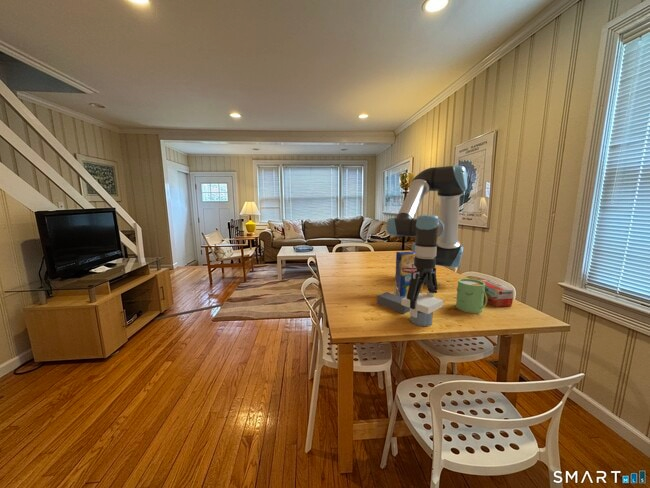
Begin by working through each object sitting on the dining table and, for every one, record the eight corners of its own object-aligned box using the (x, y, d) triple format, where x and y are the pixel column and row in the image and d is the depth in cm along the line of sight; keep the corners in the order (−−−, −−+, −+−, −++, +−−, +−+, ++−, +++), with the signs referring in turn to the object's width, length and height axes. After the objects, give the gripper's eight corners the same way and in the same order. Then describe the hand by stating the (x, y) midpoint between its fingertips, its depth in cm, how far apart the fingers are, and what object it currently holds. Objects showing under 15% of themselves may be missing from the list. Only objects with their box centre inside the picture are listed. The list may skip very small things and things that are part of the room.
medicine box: (512, 306, 113) (514, 289, 112) (496, 307, 112) (498, 290, 111) (486, 294, 128) (488, 279, 126) (471, 295, 127) (473, 280, 125)
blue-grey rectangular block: (386, 300, 120) (386, 292, 120) (413, 309, 110) (413, 300, 109) (377, 303, 116) (377, 295, 115) (403, 314, 105) (404, 304, 105)
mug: (450, 306, 113) (452, 280, 111) (466, 302, 117) (468, 277, 116) (476, 317, 102) (479, 289, 100) (493, 313, 106) (496, 285, 104)
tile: (416, 298, 105) (417, 292, 105) (442, 306, 97) (443, 300, 97) (401, 304, 99) (401, 298, 98) (428, 314, 90) (428, 307, 90)
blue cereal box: (421, 298, 122) (424, 254, 118) (399, 299, 121) (401, 254, 117) (415, 293, 128) (417, 251, 125) (394, 294, 127) (396, 251, 124)
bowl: (417, 314, 104) (417, 303, 104) (436, 321, 98) (436, 309, 98) (406, 320, 99) (406, 308, 99) (425, 328, 93) (426, 315, 92)
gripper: (431, 251, 105) (428, 301, 108) (398, 259, 90) (395, 317, 94) (449, 254, 99) (445, 307, 103) (417, 263, 84) (413, 324, 88)
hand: (421, 312), depth 98 cm, fingers closed on tile, 11 cm apart
